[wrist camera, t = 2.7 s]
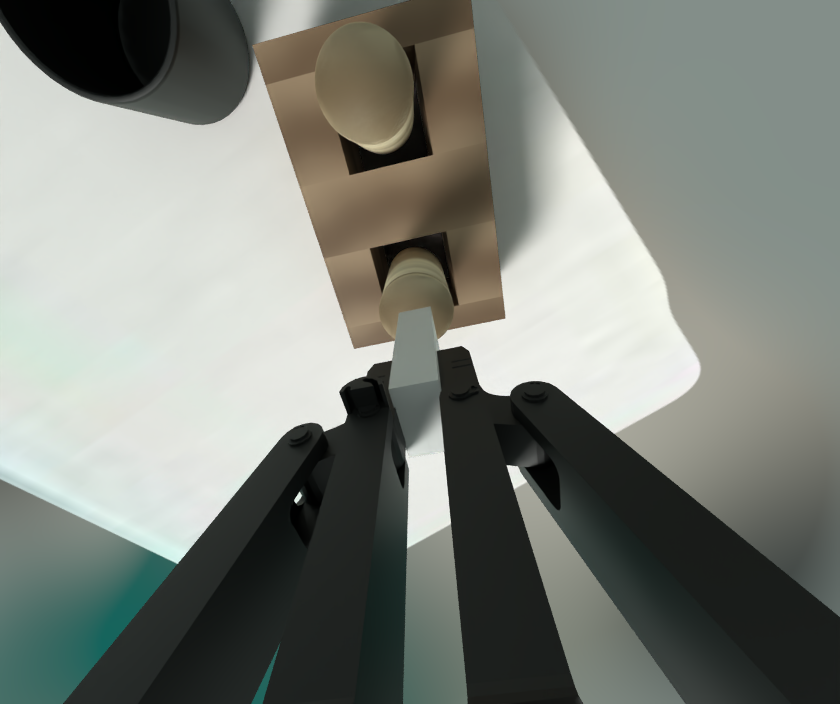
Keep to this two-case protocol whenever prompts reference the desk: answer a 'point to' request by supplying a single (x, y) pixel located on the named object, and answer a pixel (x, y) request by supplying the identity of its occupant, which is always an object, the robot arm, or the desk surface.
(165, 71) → the mug
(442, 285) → the peg
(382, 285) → the walnut block
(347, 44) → the peg
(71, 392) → the desk surface
